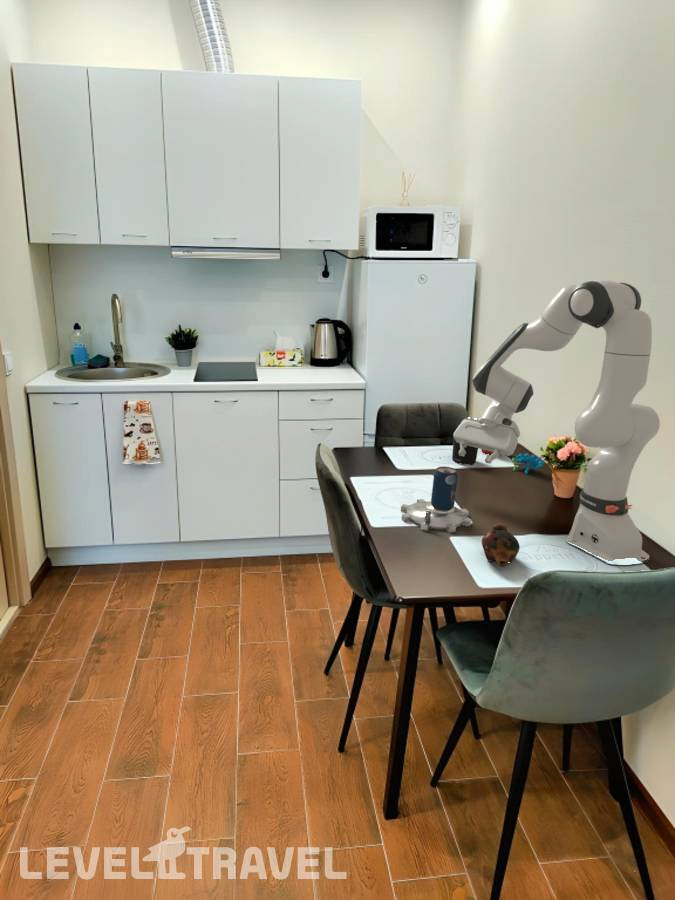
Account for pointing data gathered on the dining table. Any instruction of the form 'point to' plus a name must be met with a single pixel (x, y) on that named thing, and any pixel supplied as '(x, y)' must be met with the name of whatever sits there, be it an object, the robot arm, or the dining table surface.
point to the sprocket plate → (434, 516)
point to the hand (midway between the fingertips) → (473, 458)
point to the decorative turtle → (500, 545)
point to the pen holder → (469, 456)
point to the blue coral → (527, 462)
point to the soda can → (444, 488)
